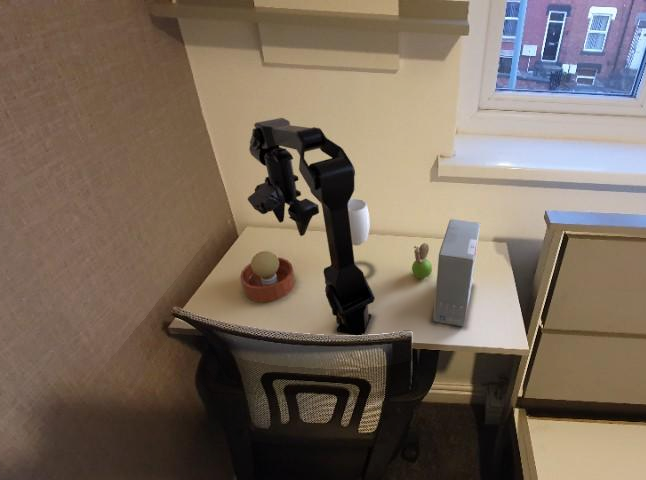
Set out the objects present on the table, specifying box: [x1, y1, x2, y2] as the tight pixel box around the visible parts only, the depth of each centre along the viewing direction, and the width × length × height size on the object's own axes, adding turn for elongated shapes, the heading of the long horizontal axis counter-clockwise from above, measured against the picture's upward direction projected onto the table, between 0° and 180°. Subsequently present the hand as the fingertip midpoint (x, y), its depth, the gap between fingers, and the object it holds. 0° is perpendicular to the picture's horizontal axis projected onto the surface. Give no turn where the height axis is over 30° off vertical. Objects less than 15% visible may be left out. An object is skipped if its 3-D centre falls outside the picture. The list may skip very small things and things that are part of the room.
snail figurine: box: [411, 242, 433, 279], centre depth 104 cm, size 5×6×12 cm
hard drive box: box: [433, 218, 481, 327], centre depth 94 cm, size 16×8×20 cm, turn 168°
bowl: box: [239, 256, 296, 303], centre depth 100 cm, size 12×12×5 cm
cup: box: [348, 198, 371, 246], centre depth 102 cm, size 7×7×21 cm
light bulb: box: [250, 250, 279, 287], centre depth 98 cm, size 6×6×10 cm
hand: (291, 228), depth 102 cm, fingers open, 9 cm apart
